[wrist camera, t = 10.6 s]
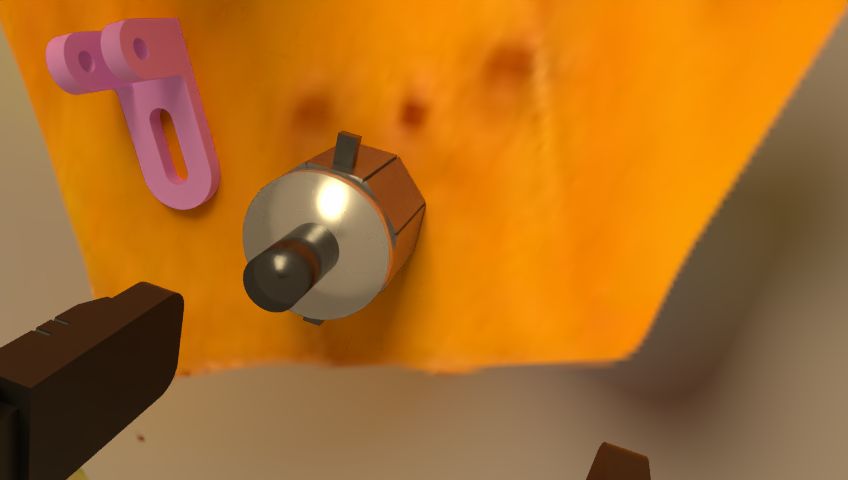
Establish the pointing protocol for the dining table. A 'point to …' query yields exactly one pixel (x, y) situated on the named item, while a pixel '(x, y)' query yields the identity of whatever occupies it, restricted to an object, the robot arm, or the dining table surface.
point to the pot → (378, 191)
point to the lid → (316, 245)
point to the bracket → (146, 98)
